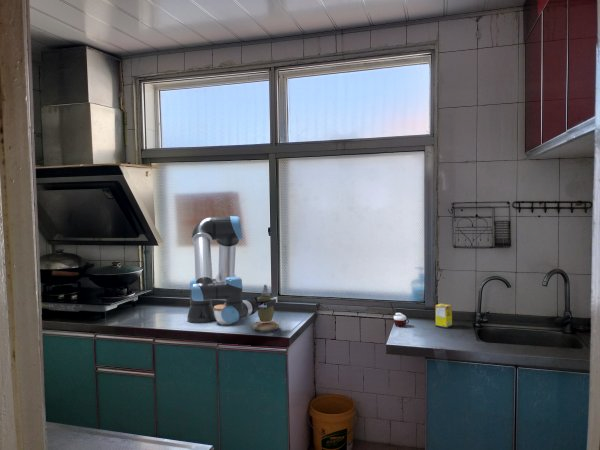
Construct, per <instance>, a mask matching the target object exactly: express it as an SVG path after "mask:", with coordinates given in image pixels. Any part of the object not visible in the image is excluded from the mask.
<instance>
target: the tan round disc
mask: <svg viewBox="0 0 600 450" xmlns="http://www.w3.org/2000/svg"><path fill="white" fill-rule="evenodd" d="M252 328H253V330H256V331H257V332H259V333H272V332H274V331H276V330H277V329H279V328H280V323H279V322H278V321H274V320H272V321H269V322H262V321H260V320H259V321H255V322H254V323H253V324H252Z"/></svg>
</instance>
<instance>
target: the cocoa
mask: <svg viewBox="0 0 600 450" xmlns="http://www.w3.org/2000/svg"><path fill="white" fill-rule="evenodd" d="M389 304H390V307H391V311H392V312H393V323H394V325H395V326H396V327H397V326H398V328H403V327H406V326H407V325H408V324H409V322H410V319H408V318H407V316H406V315H405V314H403V313H401V312H395V310H394V306H393V305H392V304H393V303H392V302H389Z"/></svg>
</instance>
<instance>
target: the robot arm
mask: <svg viewBox="0 0 600 450" xmlns="http://www.w3.org/2000/svg"><path fill="white" fill-rule="evenodd" d="M242 230H243V229H242V223H241V218H240V217H239V216H236V215H235V216H232V215H230V216H207V217H204V218H202V219H201V220H199V221H198V223H196V225H195V226H194V228H193V230H192V234H191V242H192V244H193V245H194V246H193V248H194V252H193V253H194V275H195V278H193V279H191V280H190V282H189V304H190V306H189V310H188V314H187V316H186V319H187V322H189V323H195V324H202V323H210V322H213V321H215V320H216V319H215V315H214V306H213V301H220V300H221V301H222V300H225V302H226V307H224V308H223V309H222V312H221V316H222V319H223V320H224V321H225V322H227V323H232V322H233V323H236V322H238V321H240V320H244V319H245V318H248V317H249V316H252V315H255V313H256V312H258V309H261V308H264V309H267V308H269V307H272V306H273V307H275V306H276V303H278V296H273V297H272V298H271V299H270V300H267V301H259V297H257V296H254V297H253V298H246V299H244V300H243V289H244V288H243V280H242V278H241V277H240V276H237V275H236V274H235V273H236V272H235V269H236V253H237V252H236V250H237V245H238V244H239V242H240V240H242V239H243V231H242ZM213 241H215V242H216V243H217V244H218V274H216V276H215V278H213V267H212V251H211V250H212V249H211V244H212V242H213ZM233 323H232V324H233Z"/></svg>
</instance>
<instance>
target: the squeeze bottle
mask: <svg viewBox="0 0 600 450" xmlns="http://www.w3.org/2000/svg"><path fill="white" fill-rule="evenodd" d="M258 298H259V301H267V300H270V299H271V298H273V296H272V295H271V292H270V291H268V285H267V284H263V291H261V292H260V296H259V297H258ZM274 313H275V309H274V306H272V307H269V308H267V309H264V308H261V309H258V310H257V316H258V319H259V321H262V322H269V321H273V319H274Z"/></svg>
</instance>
